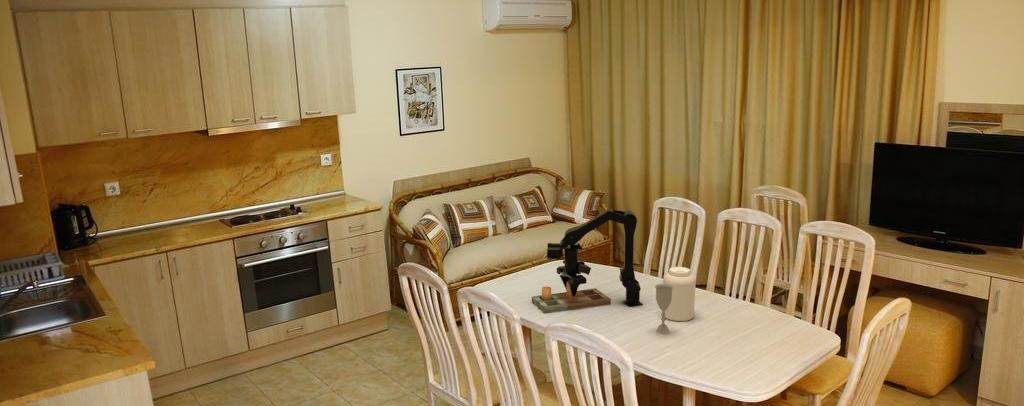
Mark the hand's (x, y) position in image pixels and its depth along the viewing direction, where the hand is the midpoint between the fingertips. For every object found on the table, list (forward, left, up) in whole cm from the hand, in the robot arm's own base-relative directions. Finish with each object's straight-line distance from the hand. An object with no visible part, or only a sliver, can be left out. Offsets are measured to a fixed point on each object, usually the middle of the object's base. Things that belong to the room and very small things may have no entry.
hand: (571, 294), depth 319 cm
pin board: (0, 0, -4) cm, 4 cm away
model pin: (+3, +10, -4) cm, 11 cm away
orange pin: (0, 0, -2) cm, 2 cm away
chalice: (-42, -20, -4) cm, 47 cm away
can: (-30, -34, -4) cm, 46 cm away
